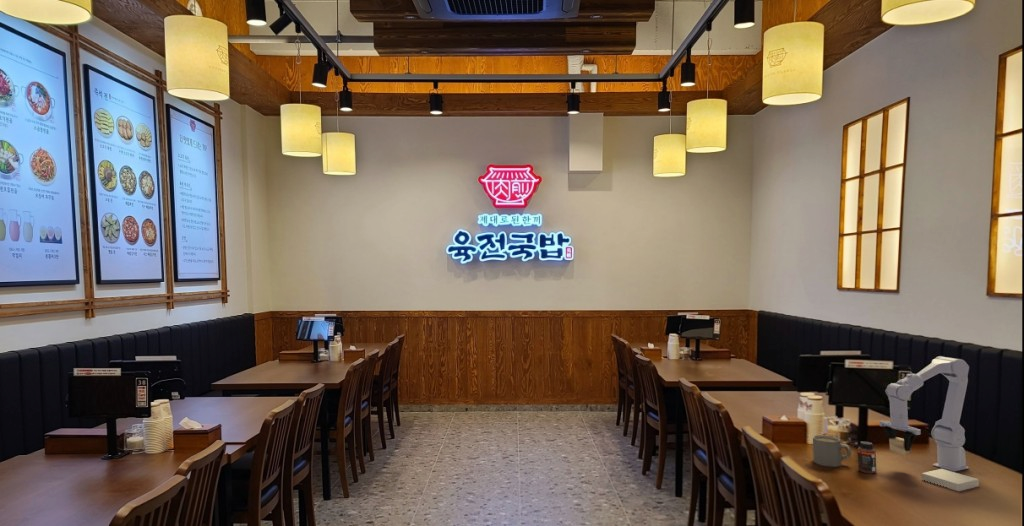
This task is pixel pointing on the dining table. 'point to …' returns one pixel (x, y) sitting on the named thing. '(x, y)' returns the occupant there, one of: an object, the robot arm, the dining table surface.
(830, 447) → the coffee mug
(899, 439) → the maple cube
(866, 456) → the supplement bottle
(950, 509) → the dining table surface
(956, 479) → the beige block
